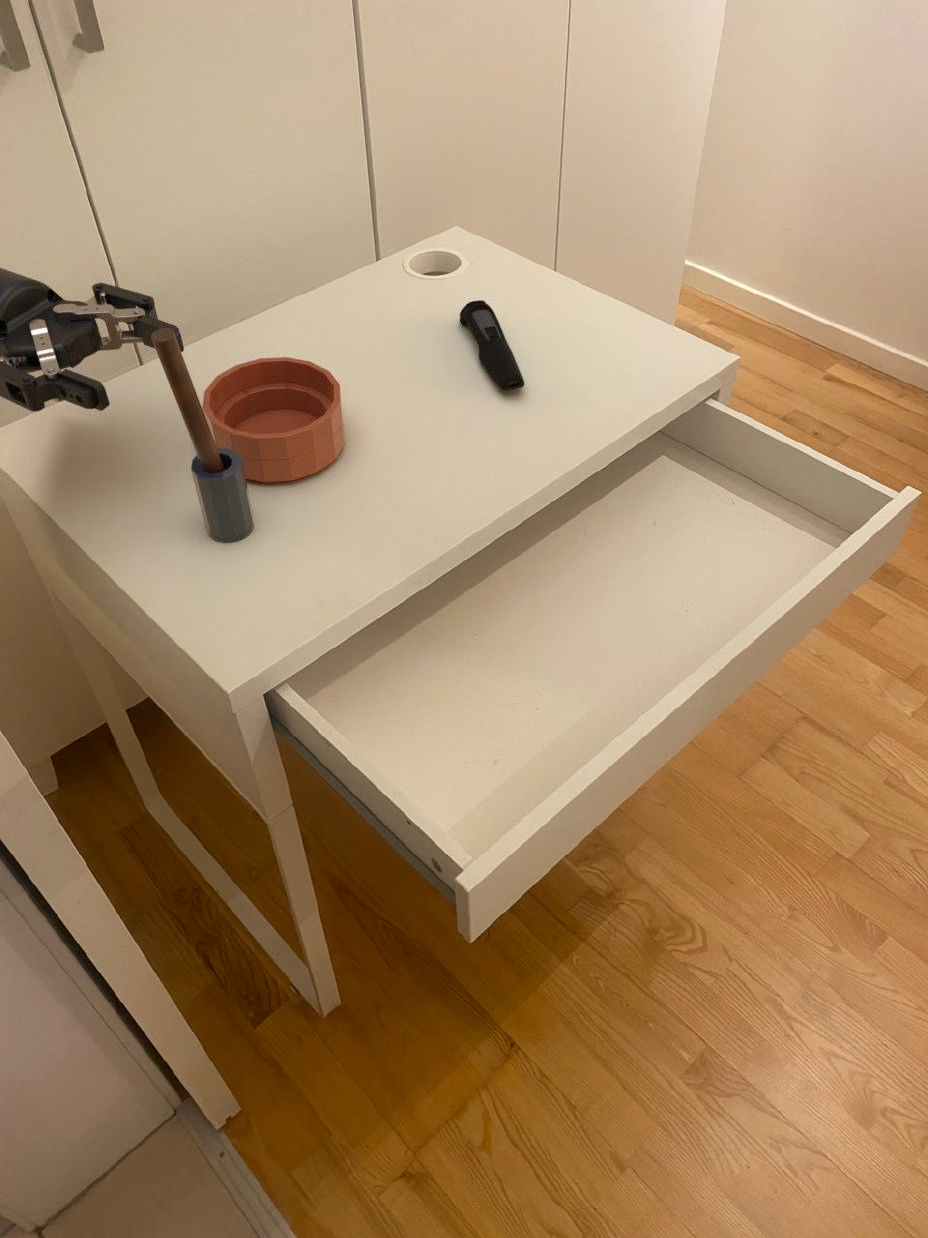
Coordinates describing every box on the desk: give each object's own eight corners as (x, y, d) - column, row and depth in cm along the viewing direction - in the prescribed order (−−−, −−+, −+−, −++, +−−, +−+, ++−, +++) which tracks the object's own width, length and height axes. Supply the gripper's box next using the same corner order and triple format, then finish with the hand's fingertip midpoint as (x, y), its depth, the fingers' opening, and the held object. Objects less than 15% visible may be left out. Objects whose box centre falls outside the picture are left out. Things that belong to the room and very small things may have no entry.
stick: (224, 527, 82) (150, 343, 67) (223, 514, 83) (151, 329, 68) (242, 524, 82) (173, 339, 67) (242, 511, 83) (173, 325, 68)
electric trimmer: (495, 405, 95) (496, 378, 93) (456, 320, 105) (457, 294, 103) (531, 400, 96) (533, 373, 94) (489, 316, 106) (491, 290, 103)
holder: (205, 544, 81) (189, 480, 76) (208, 512, 84) (193, 448, 78) (253, 541, 81) (240, 477, 76) (255, 509, 84) (242, 445, 79)
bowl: (209, 490, 86) (198, 441, 82) (217, 409, 94) (207, 360, 90) (346, 482, 87) (341, 433, 83) (343, 402, 95) (338, 354, 91)
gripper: (-100, 311, 72) (61, 373, 67) (40, 233, 80) (193, 283, 75) (-61, 395, 77) (91, 458, 72) (66, 314, 86) (210, 365, 81)
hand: (143, 369), depth 74 cm, fingers open, 8 cm apart
